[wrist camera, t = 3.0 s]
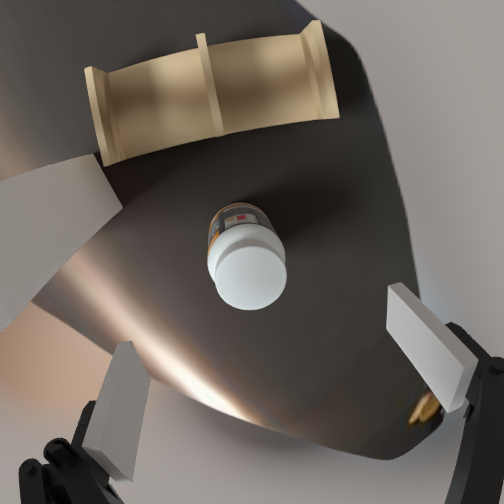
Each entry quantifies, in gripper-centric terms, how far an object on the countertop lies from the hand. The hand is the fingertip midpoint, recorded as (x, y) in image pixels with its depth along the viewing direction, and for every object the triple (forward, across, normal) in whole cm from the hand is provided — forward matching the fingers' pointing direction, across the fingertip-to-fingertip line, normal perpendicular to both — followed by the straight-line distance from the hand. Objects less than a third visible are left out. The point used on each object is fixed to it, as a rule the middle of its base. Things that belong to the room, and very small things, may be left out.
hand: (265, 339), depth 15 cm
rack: (+16, 0, +14) cm, 21 cm away
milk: (+16, -14, +7) cm, 22 cm away
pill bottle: (+16, 0, 0) cm, 16 cm away
